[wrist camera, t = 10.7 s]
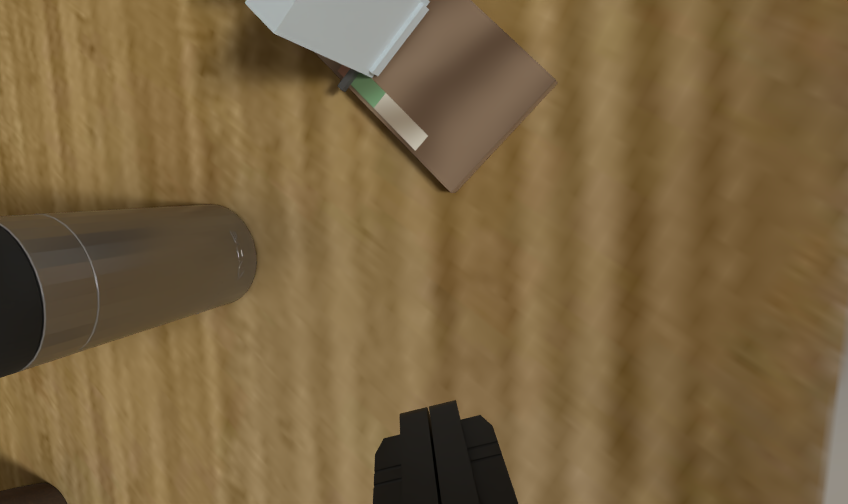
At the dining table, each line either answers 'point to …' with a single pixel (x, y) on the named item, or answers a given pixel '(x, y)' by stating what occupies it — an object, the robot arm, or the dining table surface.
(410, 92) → the board
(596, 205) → the dining table surface
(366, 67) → the panel
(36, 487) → the plant pot
